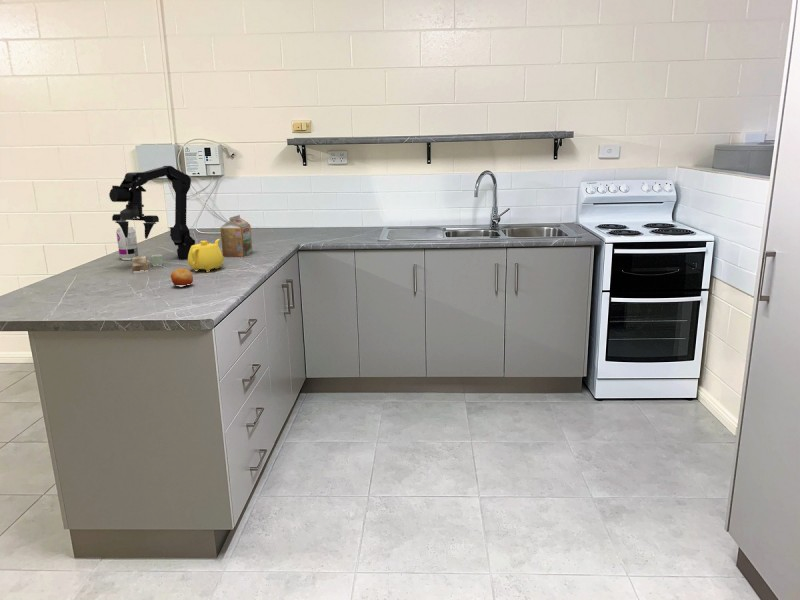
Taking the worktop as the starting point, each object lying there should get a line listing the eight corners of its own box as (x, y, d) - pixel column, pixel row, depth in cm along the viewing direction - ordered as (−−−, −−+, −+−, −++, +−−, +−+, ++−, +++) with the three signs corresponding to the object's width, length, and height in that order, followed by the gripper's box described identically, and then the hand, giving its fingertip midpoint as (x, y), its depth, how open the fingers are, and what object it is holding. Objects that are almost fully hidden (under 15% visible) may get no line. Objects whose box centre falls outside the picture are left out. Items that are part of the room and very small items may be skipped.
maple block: (146, 262, 267) (145, 256, 266) (145, 265, 262) (144, 258, 261) (134, 263, 265) (133, 257, 265) (133, 266, 261) (132, 259, 260)
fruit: (183, 278, 244) (187, 263, 239) (193, 291, 241) (198, 275, 236) (164, 282, 238) (168, 266, 233) (175, 295, 235) (179, 279, 230)
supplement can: (118, 261, 288) (114, 229, 284) (121, 258, 296) (117, 227, 292) (137, 260, 290) (133, 228, 286) (139, 257, 298) (135, 226, 294)
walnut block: (149, 270, 268) (148, 262, 267) (148, 273, 263) (147, 265, 262) (134, 271, 267) (133, 263, 266) (133, 274, 261) (132, 266, 260)
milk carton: (243, 257, 293) (239, 217, 288) (222, 257, 295) (219, 217, 290) (252, 253, 303) (249, 214, 298) (232, 252, 305) (229, 214, 300)
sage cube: (163, 263, 281) (162, 254, 280) (162, 265, 277) (161, 256, 276) (153, 264, 280) (151, 255, 279) (152, 266, 276) (151, 256, 274)
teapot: (180, 273, 261) (177, 243, 258) (209, 263, 279) (206, 236, 276) (207, 274, 257) (204, 244, 253) (235, 265, 275) (232, 237, 272)
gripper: (103, 201, 258) (105, 238, 261) (145, 203, 256) (146, 240, 259) (118, 201, 269) (120, 236, 272) (158, 202, 267) (160, 238, 270)
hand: (136, 238), depth 268 cm, fingers open, 9 cm apart
